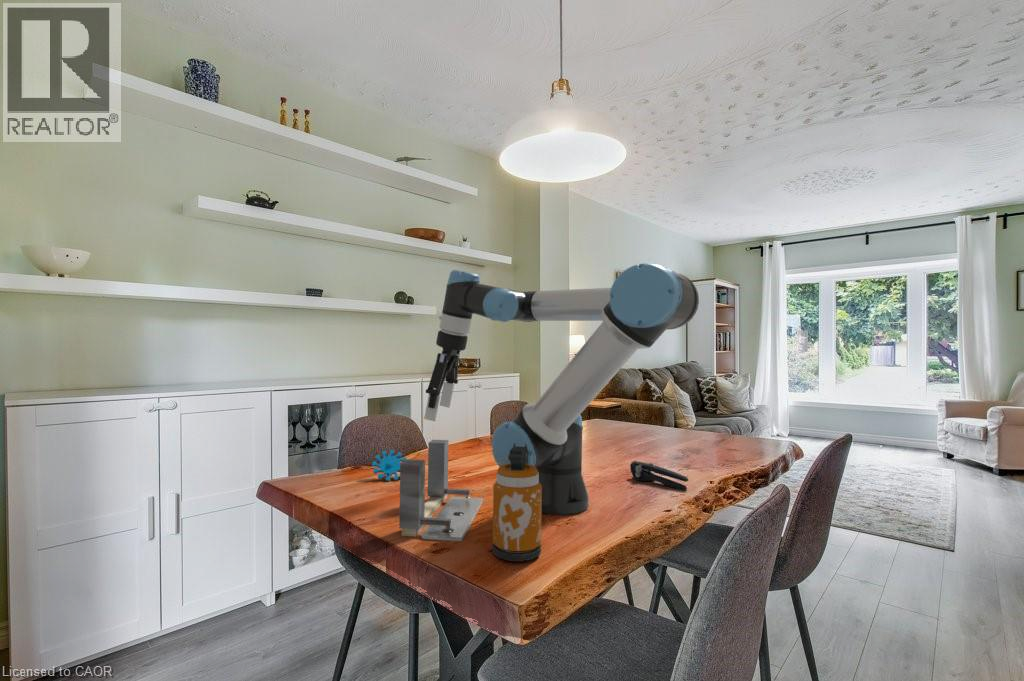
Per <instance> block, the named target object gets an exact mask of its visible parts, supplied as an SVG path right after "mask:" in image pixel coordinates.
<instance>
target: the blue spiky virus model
mask: <svg viewBox="0 0 1024 681" xmlns="http://www.w3.org/2000/svg"><path fill="white" fill-rule="evenodd" d="M389 450H390V451H389V454H388V456H386V455H387V450H383V451H382V452H381V455H382V457H383V458H382V459H381V455H380V454H376V455H375V456H374V458H375V460H376V461H375V460H373V462H372V464H371V466H372V467H374V468H373V474H377V473H378V474H377V478H378V479H379V480H382V479H383V478H384V477H385V476H386V477H385V479H384V480H385V481H386V482H388V481H389V482H390V481H391V478H392V476H393V475H394V476H393V480H394V481H399V480H400V475H398V473H400V463H402V462H403V461H405V460H406V459H407V457H405V456H404V457H402V456H403V453H402V452H400V451H399V452H397V454H395V450H394V449H389ZM394 454H395V455H394ZM393 455H394V456H393ZM377 461H378V462H379V463H377ZM388 475H389V476H388Z"/></svg>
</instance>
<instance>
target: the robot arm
mask: <svg viewBox="0 0 1024 681" xmlns="http://www.w3.org/2000/svg"><path fill="white" fill-rule="evenodd" d="M480 279H481V278H480V275H479V274H477V273H473V272H467V271H463V270H460V269H453V270H451V271H450V273H449V276H448V280H447V283H446V286H445V287H446V290H445V296H444V300H443V305H442V306H443V307H442V311H441V315H439V316H438V319H439V321H440V322H439V329H440V330H438V331H437V336H436V342H435V344H436V345H437V346H438V347H440V348H442V350H441V352H440V353H437V356H436V361H435V364H434V367H433V370H432V373H431V374H432V375H431V377H430V380H429V383H428V387H427V389H425V394H428V396H427V401H426V402H427V403H426V407H425V413H424V420H426V421H427V420H428V421H431V422H436V421H437V417H438V411H439V406H441V407H445V408H449V409H450V408H451V402H452V397H453V393H454V387H455V384H456V385H458V383H459V379H458V374H459V364H460V363H459V362H460V360H459V359H460V354H461V352H462V351H465V350H466V348H467V343H468V336H467V334H469V333H470V330H471V326H472V325H471V324H472V318H473V315H474V314H475V315H477V316H481V317H484V318H487V319H490V320H491V321H495V322H496V321H497V322H503V323H506V322H509V321H518V322H524V323H532V322H543V321H545V322H547V321H548V322H551V321H552V322H559V321H561V322H562V321H563V322H567V321H569V322H571V321H572V322H574V321H575V322H576V321H577V322H582V321H584V322H585V321H586V322H587V321H588V322H594V321H595V322H601V321H602V322H601V323H600V324H599V325H598V327H597V328H596V330H595V331H593V333H592V334H591V336H589V338H588V339H587V341H585V343H584V344H583V345H582V346H581V348H580V349H579V350H578V351H577V353H576V354H575V355H574V356H573V357H572V358H571V360H570V361H569V362H568V363H567V365H565V367H564V369H562V370H561V372H560V373H559V375H558V376H557V377H556V378H555V379H554V380H553V381H552V383H551V384H550V386H549V387H548V388H547V389H546V390H545V392H544V393H543V394H542V395H541V396H540V398H539V399H538V400H537V401H536V402H529V403H527V404H525V405H524V406H523V407H522V409H521V410H520V411H519V412H518V413H517V415H516V416H515V417H514V418H513V419H512V420H511V421H505V422H503V423H502V424H500V425H499V426H497V427H496V429H495V430H494V431H493V434H492V436H491V437H492V438H491V449H492V452H491V453H492V456H493V458H494V460H495V463H496V464H497V466H498V468H499V467H500V466H502V465H505V464H511V463H510V460H509V461H507V462H505V463H502V464H499V462H500V461H502V460H504V459H506V458H508V455H509V454H510V449H512V448H513V446H514V443H515V445H516V446H519V447H525V443H526V445H527V449H528V464H529V465H532V466H534V467H536V468H537V470H538V472H539V483H540V484H541V485H542V503H541V514H542V513H543V514H548V515H573V514H574V515H576V514H580V513H582V512H584V511H586V510H588V509H589V503H590V502H589V500H590V499H589V497H590V496H589V493H588V490H587V487H586V482H585V481H584V476H583V473H582V472H583V470H582V467H583V466H582V465H583V464H582V463H583V461H582V460H583V430H584V429H583V428H584V426H583V418H582V415H581V414H582V413H583V412H584V411H585V409H586V408H587V407H588V406H589V405H590V404H591V403H592V401H593V400H594V399H595V398H596V397H597V396H598V395H599V394H600V393H601V391H602V390H603V389H604V388H605V387H606V385H607V384H609V382H610V381H611V380H612V379H613V378H614V377H615V375H617V373H618V372H619V371H620V370H621V369H622V368H623V367H624V366H625V364H626V363H627V362H628V361H629V360H630V358H632V356H634V354H635V353H636V352H637V350H640V349H641V350H643V349H650V348H651V347H652V346H653V345H654V344H655V342H657V340H659V338H660V337H661V336H662V335H663V334H664V333H665V332H666V331H668V330H675V329H680V328H681V327H684V326H685V325H686V324H687V323H690V321H691V320H692V319H693V318H694V316H695V315H696V314H697V311H698V308H699V303H700V301H699V300H700V298H699V297H700V296H699V292H698V290H697V287H696V285H695V284H694V282H693V281H692V280H691V279H690V278H689V277H687V276H685V275H684V274H682V273H679V272H676V271H674V270H671V269H670V268H668V267H667V266H664V265H661V264H656V263H649V262H648V263H647V262H646V263H638V264H634V265H632V266H630V267H628V268H626V269H624V270H623V271H622V272H621V273H620V274H619V275H618V276H617V277H616V278H615V280H614V281H613V284H612V285H611V287H601V288H600V287H597V288H595V287H594V288H576V289H557V290H555V289H554V290H552V289H551V290H538V291H537V290H532V291H531V290H529V291H520V290H516V289H510V288H509V289H508V288H504V287H503V288H502V287H497V286H493V285H489V284H484V283H480ZM526 457H527V454H526ZM507 460H508V459H507ZM505 461H506V460H505ZM503 462H504V461H503ZM525 464H526V462H525Z"/></svg>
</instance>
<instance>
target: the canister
mask: <svg viewBox="0 0 1024 681" xmlns="http://www.w3.org/2000/svg"><path fill="white" fill-rule="evenodd" d="M526 454H527V457H526ZM507 459H508V460H507ZM505 460H506V461H505ZM509 460H510V463H511V464H505V465H502V466H500V467H499V466H498V469H497V470H496V478H495V479H496V480H495V482H494V483H493V486H492V487H493V492H492V494H493V496H492V498H493V499H492V552H493V554H494V555H495V556H496V557H498V558H500V559H502V560H506V561H509V562H516V561H518V562H525V561H524V560H526V561H529V560H533V559H535V558H538V557H539V555H540V554H541V552H542V544H541V543H542V512H541V503H542V485H541V484H540V483H539V472H538V470H537V468H536V467H534V466H532V465H529V464H528V449H527V445H526V443H525V447H519V446H516V445H515V443H514V446H513V448H512V449H510V454H509V455H508V458H506V459H504V460H502V461H500V462H499V464H502V463H505V462H507V461H509ZM503 461H504V462H503ZM525 462H526V464H525Z"/></svg>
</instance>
